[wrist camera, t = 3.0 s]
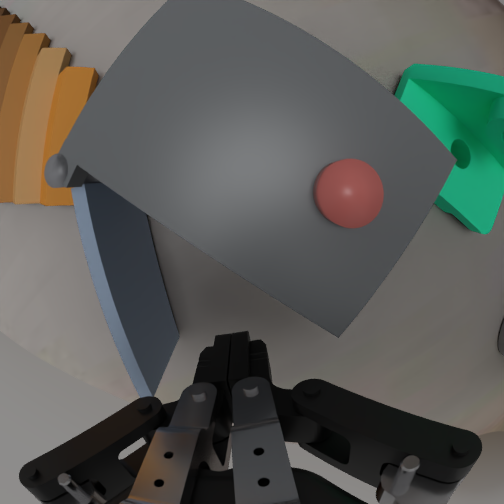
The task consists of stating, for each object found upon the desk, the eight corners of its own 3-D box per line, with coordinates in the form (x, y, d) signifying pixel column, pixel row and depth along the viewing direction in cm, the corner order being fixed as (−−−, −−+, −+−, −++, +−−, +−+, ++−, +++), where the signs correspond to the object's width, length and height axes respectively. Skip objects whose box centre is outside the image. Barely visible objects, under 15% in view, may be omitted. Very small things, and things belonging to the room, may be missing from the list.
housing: (362, 169, 18) (470, 159, 7) (281, 284, 20) (312, 384, 9) (201, 62, 16) (159, -37, 6) (122, 177, 18) (10, 178, 7)
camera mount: (363, 153, 18) (459, 132, 8) (397, 74, 16) (480, 22, 6) (468, 233, 19) (557, 263, 9) (493, 160, 18) (578, 162, 8)
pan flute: (-9, 16, 12) (-52, 198, 18) (-24, 10, 9) (-70, 201, 15) (152, -47, 13) (89, 202, 19) (143, -66, 10) (64, 207, 15)
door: (182, 336, 20) (156, 397, 13) (162, 338, 20) (131, 397, 13) (139, 163, 17) (83, 154, 10) (118, 169, 17) (57, 165, 10)
